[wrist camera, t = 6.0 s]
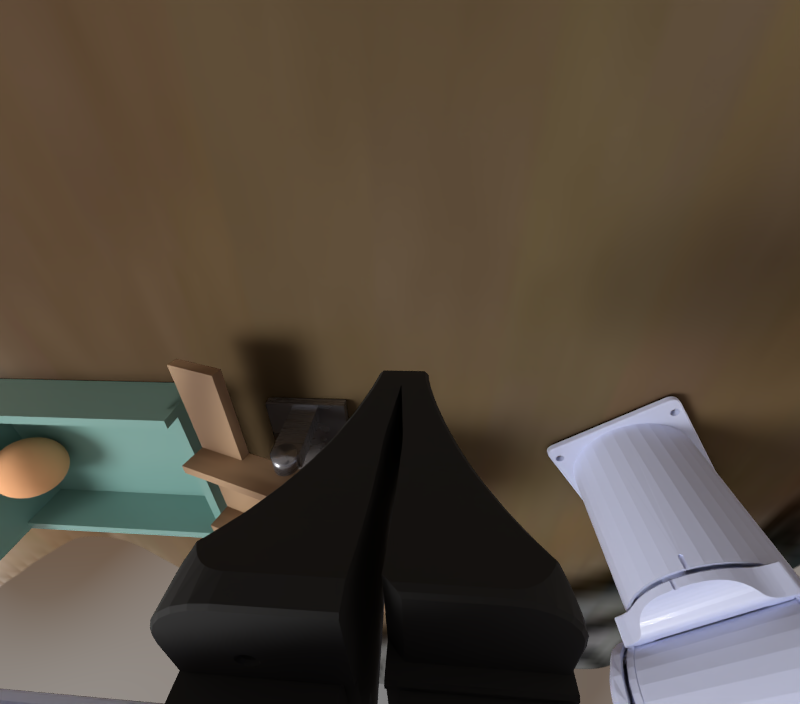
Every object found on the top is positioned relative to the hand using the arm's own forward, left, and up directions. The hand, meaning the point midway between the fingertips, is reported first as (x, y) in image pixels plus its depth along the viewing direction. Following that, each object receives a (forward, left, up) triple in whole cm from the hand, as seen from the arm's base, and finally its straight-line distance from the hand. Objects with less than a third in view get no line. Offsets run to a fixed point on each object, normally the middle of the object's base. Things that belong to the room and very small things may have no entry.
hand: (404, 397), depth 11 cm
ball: (+5, +29, -7) cm, 30 cm away
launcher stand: (-6, +13, -9) cm, 17 cm away
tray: (+3, +25, -9) cm, 27 cm away
